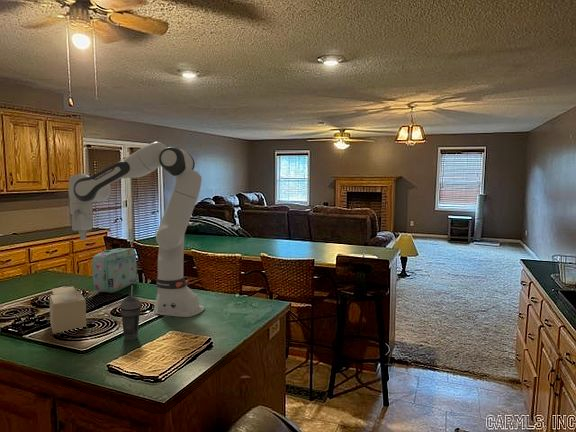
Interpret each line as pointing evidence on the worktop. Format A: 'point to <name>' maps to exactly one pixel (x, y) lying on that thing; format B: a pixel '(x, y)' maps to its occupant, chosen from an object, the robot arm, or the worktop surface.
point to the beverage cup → (130, 316)
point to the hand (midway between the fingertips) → (83, 240)
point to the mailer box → (67, 316)
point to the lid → (66, 296)
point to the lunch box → (114, 269)
